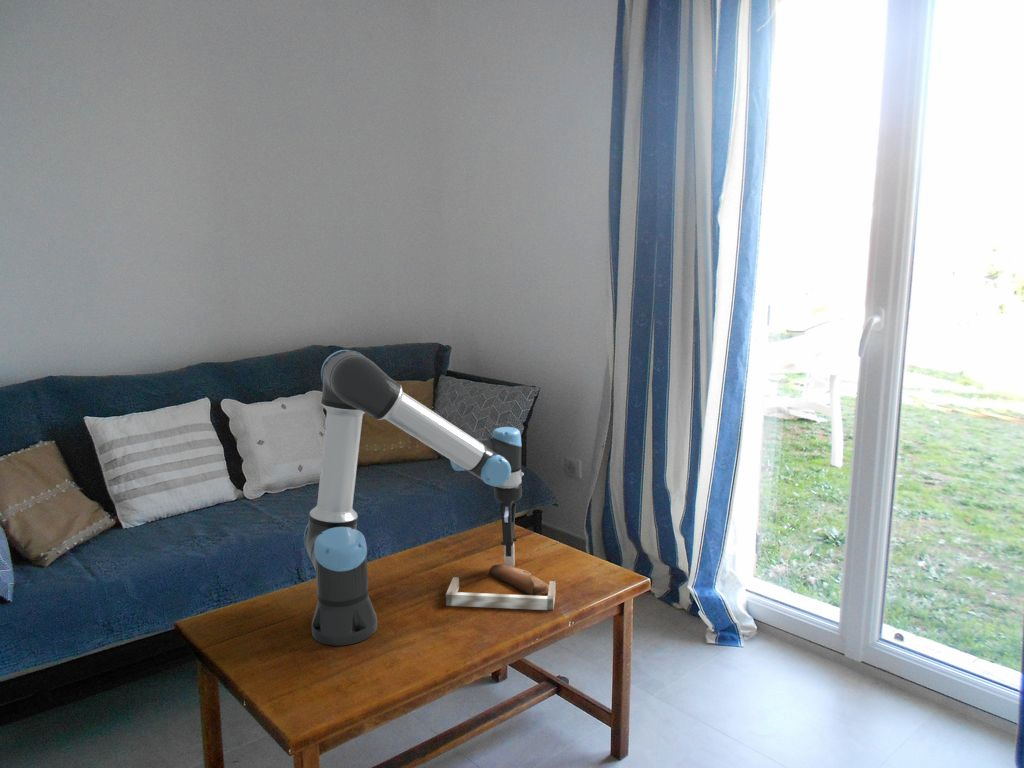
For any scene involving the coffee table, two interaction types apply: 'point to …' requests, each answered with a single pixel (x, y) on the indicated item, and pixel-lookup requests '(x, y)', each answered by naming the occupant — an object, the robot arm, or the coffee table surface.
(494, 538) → the coffee table surface
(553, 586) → the bracket
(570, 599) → the coffee table surface
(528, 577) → the sunglasses case
